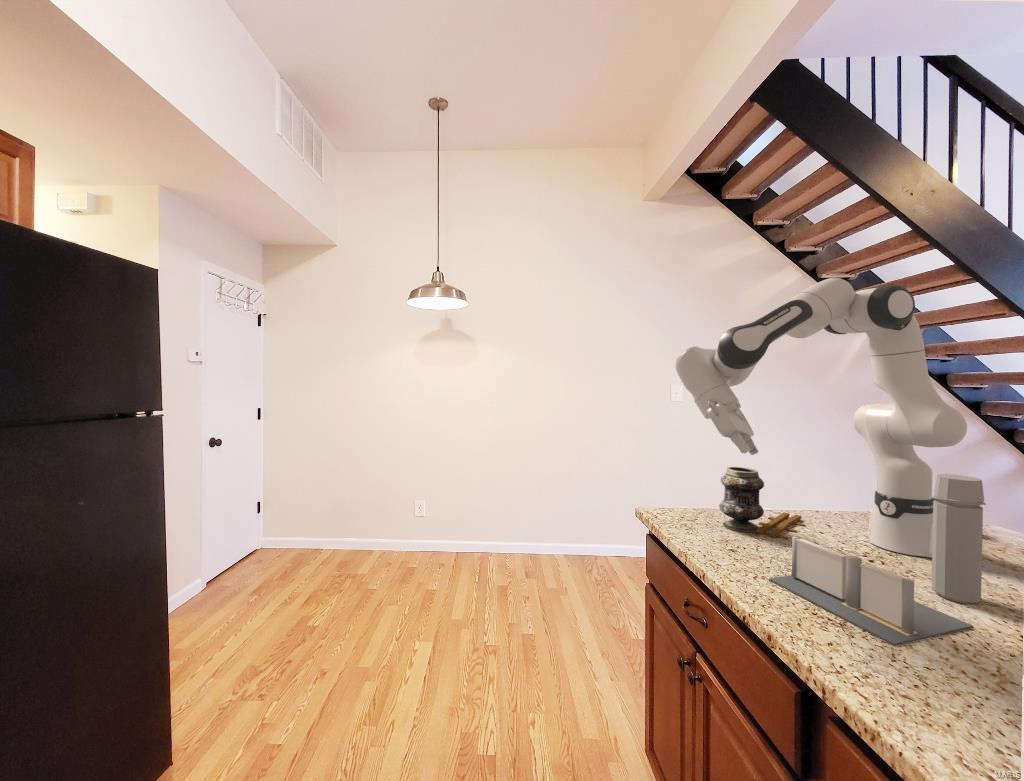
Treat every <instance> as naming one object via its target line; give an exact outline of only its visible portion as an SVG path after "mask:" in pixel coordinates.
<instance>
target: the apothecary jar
mask: <svg viewBox="0 0 1024 781" xmlns="http://www.w3.org/2000/svg"><path fill="white" fill-rule="evenodd" d="M720 482H721V485H723V486H724V496H723V500H721V501H720V502H719V504H718V505H719V506H718V508H719V510H720V512H722V513H723V514H724V515H726V516H727V517H730V519H729V520H726V521H724V522H722V525H723V527H725V528H727V529H729V530H732V531H736V532H742V533H756V529H758V528H760V527H759V525H757V524H755V523H753V522H751V521H755V520H759V519H760V518H762V517H763V516H764V508H763V506H762V505H761V504H760V490H762V489H763V488H764V487H765V482H764V480H763V479H762V478H761V477H760V475H759V470H757V469H753V468H749V467H742V466H727V469H726V472H725V473H724V474H722V476H721V477H720Z"/></svg>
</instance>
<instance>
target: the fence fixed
mask: <svg viewBox="0 0 1024 781" xmlns="http://www.w3.org/2000/svg"><path fill="white" fill-rule="evenodd" d="M914 601H915V581H914V580H912V579H909V578H907V577H905V576H902V575H898V574H897V573H894V572H891V571H889V570H886V569H883V568H880V567H878V566H875V565H873V564H870V563H868V562H865V563H863V562H862V558H861V557H859V556H855V555H848V554H847V556H846V603H845V604H846V605H847V606H849V607H851V608H855V609H860V608H861V609H864V610H866V611H868V612H870V613H872V614H874V615H876V616H878V617H880V618H882V619H884V620H886V621H889V622H891V623H893V624H895V625H897V626H899V627H901V631H903V632H904V633H907V634H913V625H914Z"/></svg>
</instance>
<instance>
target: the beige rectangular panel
mask: <svg viewBox="0 0 1024 781" xmlns="http://www.w3.org/2000/svg"><path fill="white" fill-rule="evenodd" d="M791 540H792V541H791V545H792V546H791V549H792V550H791V575H792V577H794V578H799V579H801V580H803V581H805V582H807V583H809V584H811V585H813V586H816V587H818V588H820V589H822V590H824V591H826V592H828V593H830V594H832V595H834V596H836V597H839V598H841V599H845V598H846V556H848V554H847V555H846V554H844V553H841V552H838V551H837V550H833V549H831V548H828V547H825V546H822V545H819V544H817V543H814V542H812V541H810V540H807V539H804V538H801V537H799V536H792V538H791Z"/></svg>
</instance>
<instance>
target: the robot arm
mask: <svg viewBox="0 0 1024 781" xmlns="http://www.w3.org/2000/svg"><path fill="white" fill-rule="evenodd" d="M915 304H916V302H915V299H914V296H913V295H912V293H911V292H910V290H908V289H907V288H906V287H904V286H901V285H897V284H896V285H894V284H893V285H892V284H891V285H882V286H879V287H874V288H867V289H865V288H864V289H861V290H857V291H855V290H854V287H853V286H852V285H851V283H849V282H848V281H847V280H845V279H843V278H840V277H830V278H826V279H823V280H821V281H818V282H816V283H814V284H812V285H810V286H809V287H807V288H805V289H803V290H802V291H800V292H798V293H797V294H795V295H794V296H793V297H791V298H790V299H789V300H787V301H786V302H785V303H784V304H782V305H781V306H779V307H777V308H775V309H774V310H772V311H770V312H769V313H767V314H765V315H763V316H762V317H760V318H757V320H755V321H753V322H750V323H746V324H742V325H737V326H734V327H731V328H730V329H727V330H726V331H725V332H724V333H723V334H722V335H721V337H720V339H719V341H718V346H717V348H713V349H712V348H711V349H710V348H703V347H699V346H697V345H695V346H692V347H689V348H688V349H686V350H684V351H683V352H682V353H681V354H680V355H679V356H678V357H677V359H676V361H675V370H676V373H677V375H678V377H679V379H680V381H681V382H682V385H684V387H685V389H686V390H687V391H688V392H689V393H690V394H691V396H692V397H693V401H694V403H695V404H696V406H697V407H698V409H699V411H700V412H701V414H702V416H704V419H706V420H708V419H710V420H711V421H712V424H713V425H714V426H715V428H716V430H717V432H718V433H719V435H721V436H722V437H723V438H724V437H725V438H727V439H728V438H729V439H730V440H731V442H732V443H733V444H734V445H735V446H736V447H737V448H738V449H739V452H740V453H741V454H746V453H749V454H750V455H751V456H754V455H758V454H759V449H758V448H757V446H756V445H755V442H754V440H753V436H754V431H753V429H752V427H751V425H750V423H749V421H748V420H747V418H746V416H745V415H744V413H743V411H742V410H741V408H742V405H741V404H740V402H739V401H740V400H739V399H738V397H737V396H736V394H735V393H734V391H733V390H732V388H731V387H733V386H737V385H740V384H742V383H743V382H745V381H746V380H747V379H748V378H749V376H750V375H751V373H752V371H754V369H755V367H756V365H757V364H758V363H759V362H760V361H761V359H762V358H763V357H764V355H765V354H766V352H767V351H768V348H769V346H770V345H771V344H772V343H774V342H776V341H777V340H778V339H781V337H783V336H785V335H787V336H789V337H792V338H795V339H806V338H808V337H810V336H812V335H815V334H817V333H819V332H820V331H822V330H825V331H826V332H828V333H830V334H834V335H847V334H863V333H865V334H866V335H867V337H868V338H869V339H868V342H869V343H868V348H869V350H868V351H869V357H870V367H871V374H872V381H873V384H874V385H875V386H876V387H878V389H880V390H882V391H884V392H885V393H886V394H887V395H888V397H889V398H890V400H891V401H892V402H876V403H875V402H874V403H869V404H863V405H862V406H860V407H859V408H858V409H857V410H855V413H854V415H853V419H852V420H853V422H852V423H853V426H854V428H855V430H856V432H857V433H858V434H860V435H861V436H862V437H863V439H864V440H865V441H866V442H867V444H868V445H869V447H870V450H871V452H872V454H873V457H874V460H875V467H876V490H875V491H874V496H873V499H874V505H875V506H874V507H873V508H871V510H870V516H869V524H868V530H866V531H864V536H865V537H866V538H867V540H868V542H869V543H871V544H873V546H877V547H879V548H882V549H884V550H887V551H892V552H894V553H895V552H896V553H898V554H904V555H909V556H917V557H924V558H931V559H932V546H933V501H934V500H937V499H935V498H931V496H933V470H932V467H931V466H930V465H929V464H928V463H927V462H925V461H924V460H922V459H921V458H920V457H919V456H918V454H917V453H916V451H915V448H914V446H916V447H924V448H946V447H947V448H948V447H954V446H956V445H958V444H960V442H962V441H963V439H964V438H965V437H966V435H967V431H968V424H967V421H966V418H965V417H964V415H963V414H962V413H961V412H960V411H958V410H956V408H953V407H952V406H950V405H949V404H948V403H947V402H946V401H945V400H943V398H942V397H941V396H940V395H939V393H938V392H937V391H936V389H935V387H934V386H933V383H932V382H931V379H930V375H929V369H928V363H927V358H926V350H925V344H924V337H923V334H922V330H921V328H920V324H919V322H918V319H917V318H916V316H915V314H914V313H915V309H916V305H915Z"/></svg>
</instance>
